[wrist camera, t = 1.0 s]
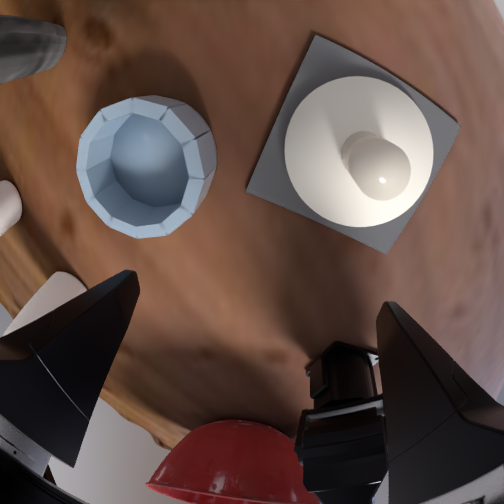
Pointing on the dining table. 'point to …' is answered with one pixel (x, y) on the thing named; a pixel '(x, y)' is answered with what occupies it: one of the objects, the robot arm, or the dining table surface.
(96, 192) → the bowl
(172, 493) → the mixing bowl
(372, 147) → the lid
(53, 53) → the beverage cup
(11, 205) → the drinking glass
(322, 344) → the dining table surface
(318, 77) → the mat
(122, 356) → the dining table surface
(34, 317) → the can
